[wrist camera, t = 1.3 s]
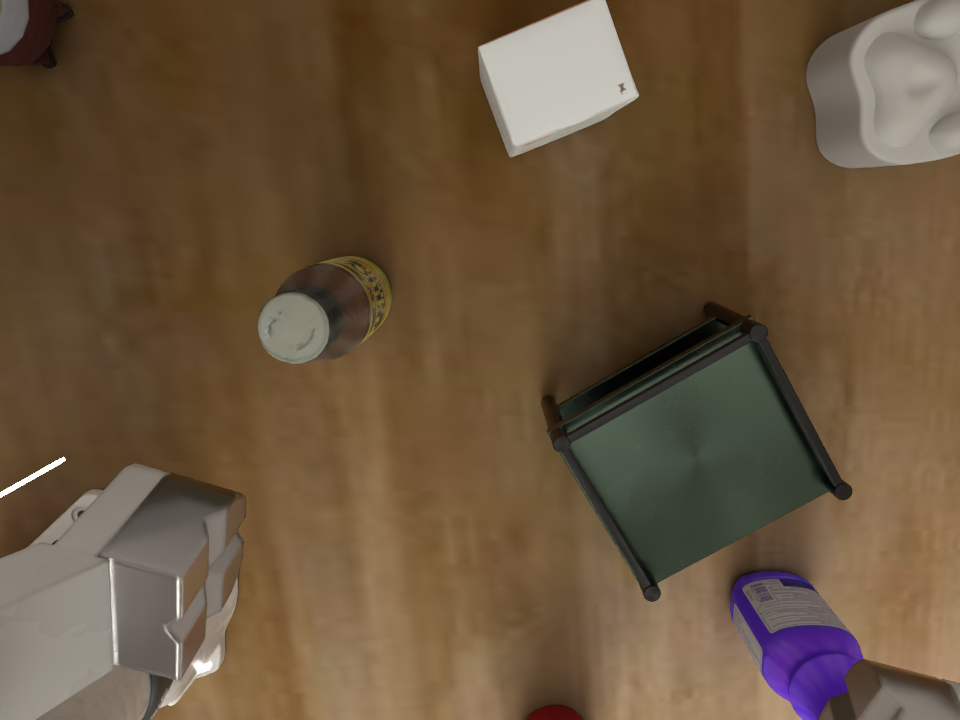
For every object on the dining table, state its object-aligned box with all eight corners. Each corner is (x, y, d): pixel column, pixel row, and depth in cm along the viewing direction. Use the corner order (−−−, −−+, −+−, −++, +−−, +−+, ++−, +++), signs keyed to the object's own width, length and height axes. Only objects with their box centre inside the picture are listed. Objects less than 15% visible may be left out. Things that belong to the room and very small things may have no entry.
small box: (579, 35, 58) (606, -10, 45) (608, 118, 59) (642, 97, 46) (477, 77, 58) (475, 45, 46) (507, 159, 60) (514, 150, 47)
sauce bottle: (406, 317, 62) (370, 372, 43) (332, 342, 63) (264, 408, 43) (377, 239, 61) (327, 260, 41) (302, 266, 61) (218, 299, 42)
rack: (621, 538, 66) (648, 604, 55) (538, 399, 64) (549, 441, 53) (793, 444, 64) (855, 494, 53) (714, 298, 62) (763, 320, 51)
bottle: (721, 626, 68) (801, 772, 51) (725, 565, 66) (808, 694, 49) (806, 626, 68) (914, 771, 51) (811, 565, 66) (924, 693, 49)
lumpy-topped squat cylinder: (799, 40, 58) (854, 13, 49) (976, -8, 57) (1062, -43, 49) (822, 180, 60) (879, 178, 51) (993, 135, 59) (1079, 126, 51)
